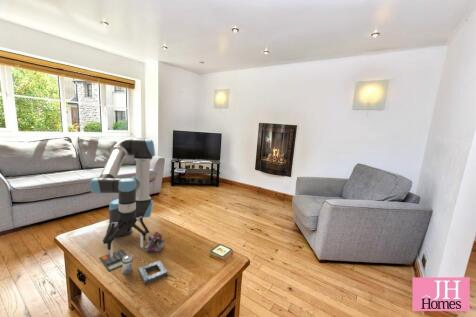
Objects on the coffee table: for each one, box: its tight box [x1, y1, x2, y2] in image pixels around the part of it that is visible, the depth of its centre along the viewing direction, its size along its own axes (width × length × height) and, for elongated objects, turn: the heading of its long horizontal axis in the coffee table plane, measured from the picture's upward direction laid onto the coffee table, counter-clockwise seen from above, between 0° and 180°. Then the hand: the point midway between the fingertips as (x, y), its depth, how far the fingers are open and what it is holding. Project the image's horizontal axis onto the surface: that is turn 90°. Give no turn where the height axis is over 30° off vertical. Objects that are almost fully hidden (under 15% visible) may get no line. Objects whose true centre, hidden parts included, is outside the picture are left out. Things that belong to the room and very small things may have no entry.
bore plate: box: [137, 260, 168, 285], centre depth 105 cm, size 11×11×2 cm
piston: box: [121, 253, 134, 275], centre depth 104 cm, size 5×5×8 cm
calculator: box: [98, 249, 133, 272], centre depth 113 cm, size 12×1×15 cm
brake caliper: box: [143, 231, 165, 253], centre depth 126 cm, size 11×11×12 cm
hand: (127, 250), depth 103 cm, fingers open, 13 cm apart
